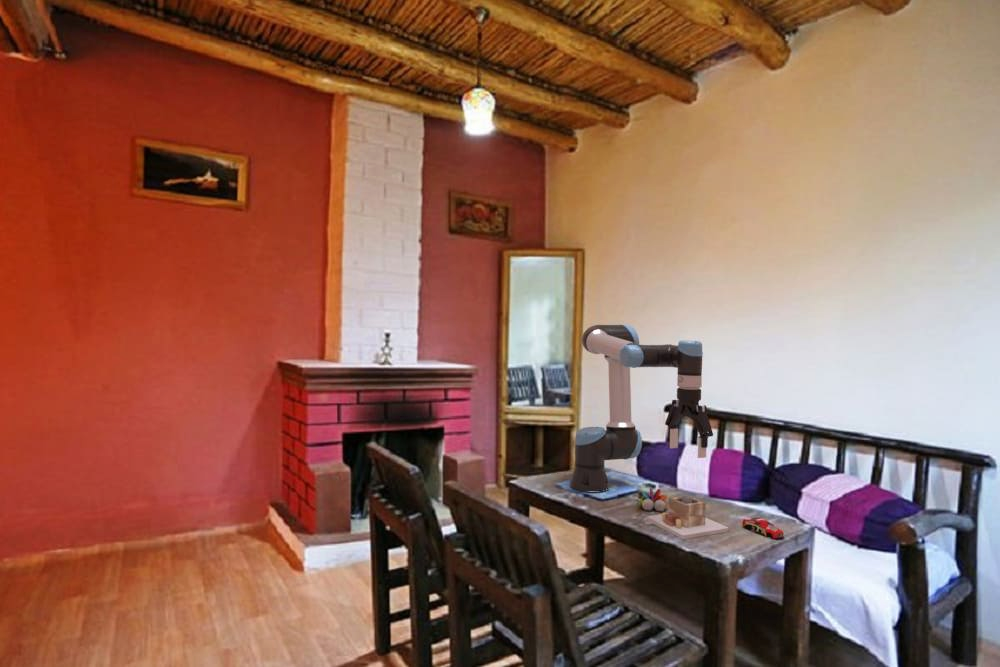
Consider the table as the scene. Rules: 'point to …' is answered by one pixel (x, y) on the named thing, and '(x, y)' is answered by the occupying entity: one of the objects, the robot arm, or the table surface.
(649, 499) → the rainbow spiky toy
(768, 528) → the race car
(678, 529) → the post board
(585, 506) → the table surface
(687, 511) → the flange collar
